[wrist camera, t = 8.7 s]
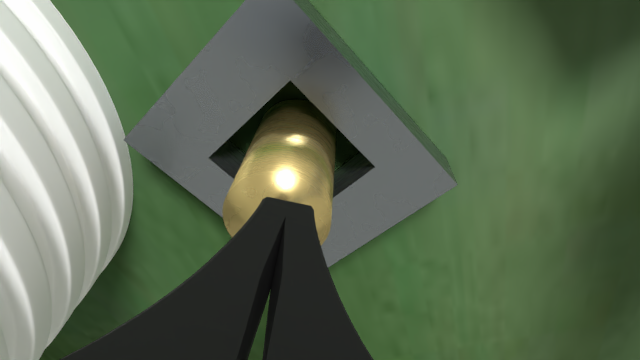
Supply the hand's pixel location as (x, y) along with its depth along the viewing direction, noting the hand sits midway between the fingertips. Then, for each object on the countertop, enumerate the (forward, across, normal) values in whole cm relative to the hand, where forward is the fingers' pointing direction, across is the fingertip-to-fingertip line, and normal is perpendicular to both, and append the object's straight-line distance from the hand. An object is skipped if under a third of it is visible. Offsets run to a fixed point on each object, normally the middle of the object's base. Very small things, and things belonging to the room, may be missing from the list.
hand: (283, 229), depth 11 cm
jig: (+10, 0, +2) cm, 10 cm away
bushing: (+10, 0, +2) cm, 10 cm away
